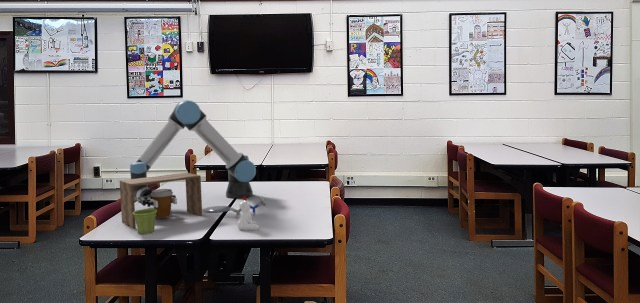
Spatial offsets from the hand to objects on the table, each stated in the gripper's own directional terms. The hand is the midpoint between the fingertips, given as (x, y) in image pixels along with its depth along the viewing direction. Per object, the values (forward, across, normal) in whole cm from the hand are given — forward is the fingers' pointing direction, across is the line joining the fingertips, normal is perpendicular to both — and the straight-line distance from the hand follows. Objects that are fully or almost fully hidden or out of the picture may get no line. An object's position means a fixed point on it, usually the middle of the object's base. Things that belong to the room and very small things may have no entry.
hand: (166, 202), depth 207 cm
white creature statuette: (+38, -18, -9) cm, 43 cm away
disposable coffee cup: (-5, 0, -7) cm, 9 cm away
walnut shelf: (-5, 0, -8) cm, 9 cm away
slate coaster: (-4, -27, -8) cm, 29 cm away
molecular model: (+20, -31, -9) cm, 38 cm away
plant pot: (+12, +14, -8) cm, 21 cm away
